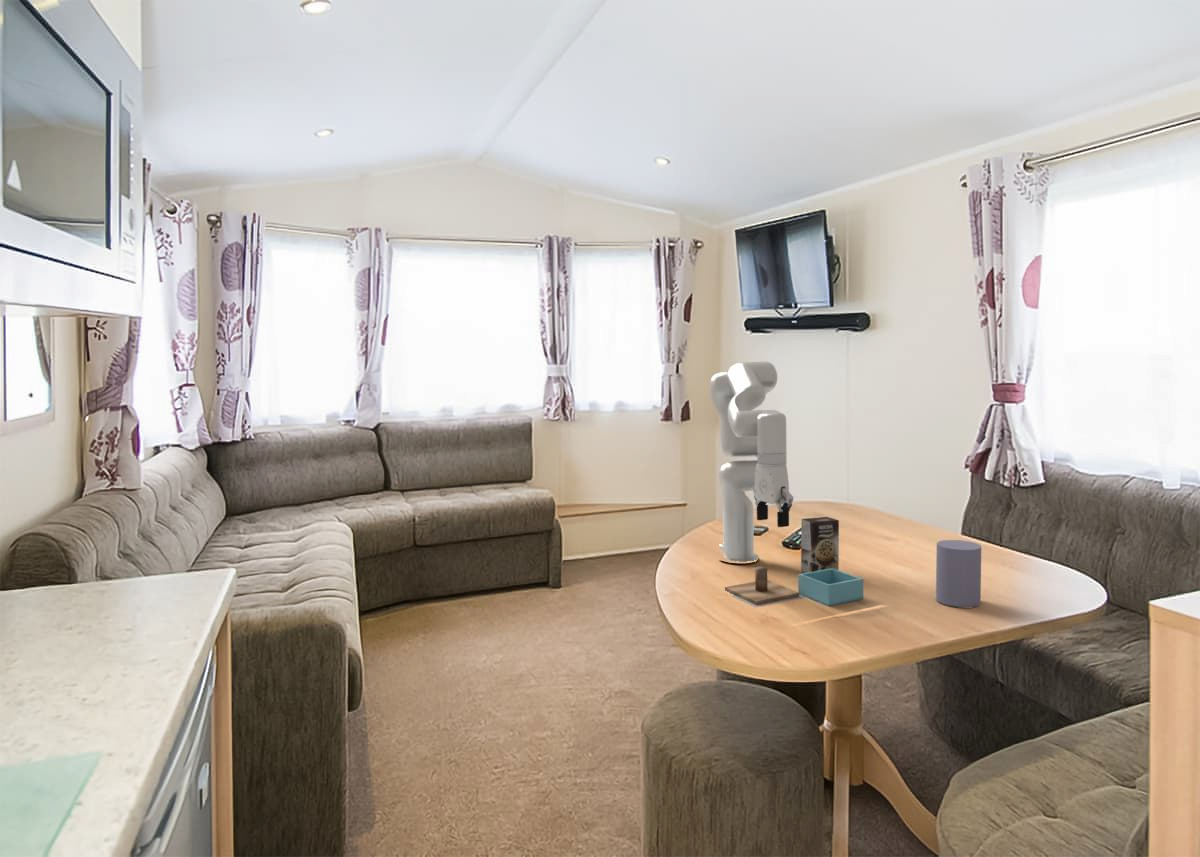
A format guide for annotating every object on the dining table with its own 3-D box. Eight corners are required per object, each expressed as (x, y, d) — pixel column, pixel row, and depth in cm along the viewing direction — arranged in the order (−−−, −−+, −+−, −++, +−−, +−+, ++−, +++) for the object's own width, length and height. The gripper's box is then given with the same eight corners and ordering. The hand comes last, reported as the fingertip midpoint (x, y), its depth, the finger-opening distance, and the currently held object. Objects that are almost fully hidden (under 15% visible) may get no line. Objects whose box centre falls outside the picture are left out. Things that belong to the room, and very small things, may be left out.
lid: (724, 590, 207) (724, 565, 206) (766, 583, 213) (766, 558, 212) (756, 605, 194) (755, 578, 193) (799, 596, 200) (799, 570, 199)
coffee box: (812, 577, 219) (811, 522, 217) (800, 571, 225) (800, 518, 224) (839, 574, 221) (839, 519, 220) (827, 568, 228) (827, 515, 226)
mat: (719, 592, 207) (719, 590, 207) (767, 583, 214) (767, 581, 214) (755, 609, 193) (755, 606, 193) (804, 599, 200) (804, 596, 199)
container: (937, 593, 201) (938, 538, 200) (980, 598, 196) (981, 541, 195) (934, 605, 192) (935, 547, 190) (980, 610, 187) (981, 551, 186)
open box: (798, 596, 202) (798, 574, 202) (832, 589, 207) (832, 568, 206) (828, 608, 192) (828, 585, 191) (863, 601, 196) (863, 578, 196)
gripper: (742, 456, 206) (743, 518, 207) (778, 463, 190) (779, 530, 191) (765, 455, 209) (766, 516, 210) (803, 461, 192) (804, 527, 194)
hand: (772, 523), depth 201 cm, fingers open, 9 cm apart
